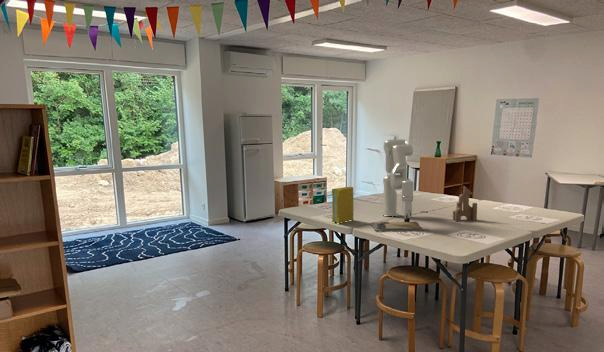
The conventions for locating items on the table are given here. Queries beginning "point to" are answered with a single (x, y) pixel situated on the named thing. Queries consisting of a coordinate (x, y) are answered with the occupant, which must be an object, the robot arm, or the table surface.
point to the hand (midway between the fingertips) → (406, 224)
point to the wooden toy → (465, 207)
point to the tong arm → (393, 222)
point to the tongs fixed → (399, 226)
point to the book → (342, 204)
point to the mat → (394, 229)
